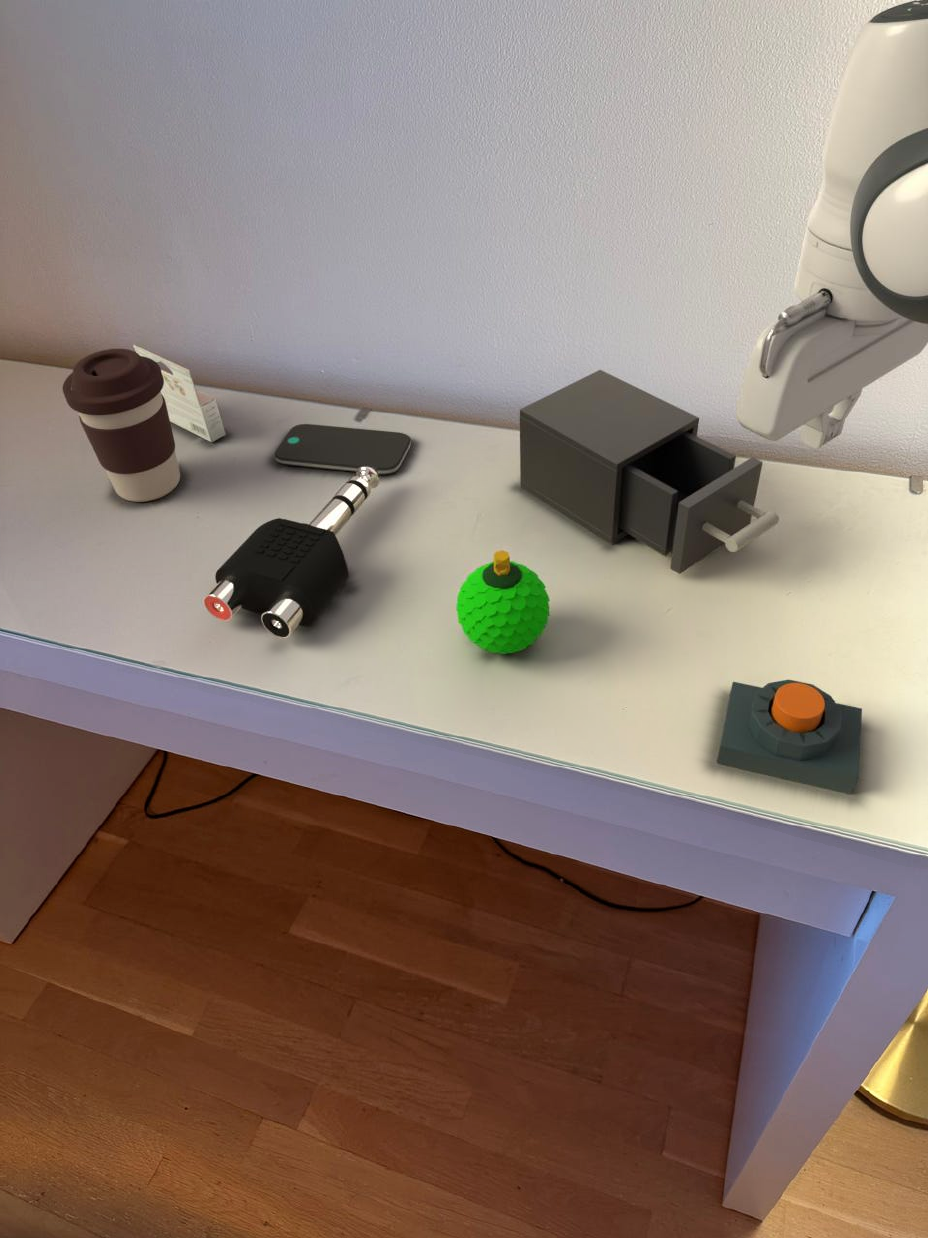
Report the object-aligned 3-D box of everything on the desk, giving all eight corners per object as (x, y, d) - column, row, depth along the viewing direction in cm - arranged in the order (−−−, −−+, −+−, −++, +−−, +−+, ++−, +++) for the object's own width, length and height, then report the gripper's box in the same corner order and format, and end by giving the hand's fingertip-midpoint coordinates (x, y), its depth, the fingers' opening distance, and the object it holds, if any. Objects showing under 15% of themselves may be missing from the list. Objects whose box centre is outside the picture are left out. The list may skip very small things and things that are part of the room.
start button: (821, 703, 72) (826, 688, 71) (818, 738, 70) (823, 723, 68) (774, 693, 73) (777, 678, 72) (768, 727, 71) (772, 712, 69)
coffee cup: (200, 457, 108) (165, 337, 98) (184, 508, 101) (144, 384, 91) (116, 462, 108) (71, 343, 98) (94, 513, 101) (43, 391, 91)
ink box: (170, 407, 117) (148, 335, 110) (226, 435, 111) (207, 361, 105) (154, 415, 116) (130, 343, 109) (210, 444, 110) (189, 370, 103)
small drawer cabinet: (688, 497, 98) (699, 417, 91) (611, 544, 93) (617, 464, 86) (595, 445, 106) (600, 368, 99) (520, 486, 101) (519, 409, 94)
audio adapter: (190, 580, 84) (328, 437, 100) (204, 622, 88) (335, 478, 104) (293, 609, 80) (419, 456, 96) (303, 652, 84) (423, 498, 100)
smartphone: (294, 421, 111) (414, 432, 108) (295, 428, 111) (414, 439, 108) (269, 457, 106) (395, 470, 102) (270, 463, 106) (395, 476, 103)
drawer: (785, 547, 90) (801, 480, 84) (714, 596, 85) (727, 529, 80) (654, 475, 99) (661, 411, 94) (585, 515, 95) (588, 451, 90)
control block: (855, 726, 75) (867, 692, 72) (851, 794, 70) (863, 762, 67) (728, 699, 77) (736, 666, 75) (716, 763, 73) (723, 730, 70)
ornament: (549, 610, 86) (551, 525, 79) (548, 674, 80) (549, 588, 74) (463, 609, 87) (457, 524, 80) (455, 672, 81) (448, 587, 74)
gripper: (812, 335, 58) (771, 511, 68) (983, 241, 67) (925, 408, 77) (731, 303, 62) (703, 474, 72) (904, 218, 71) (858, 380, 80)
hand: (819, 439), depth 74 cm, fingers closed
